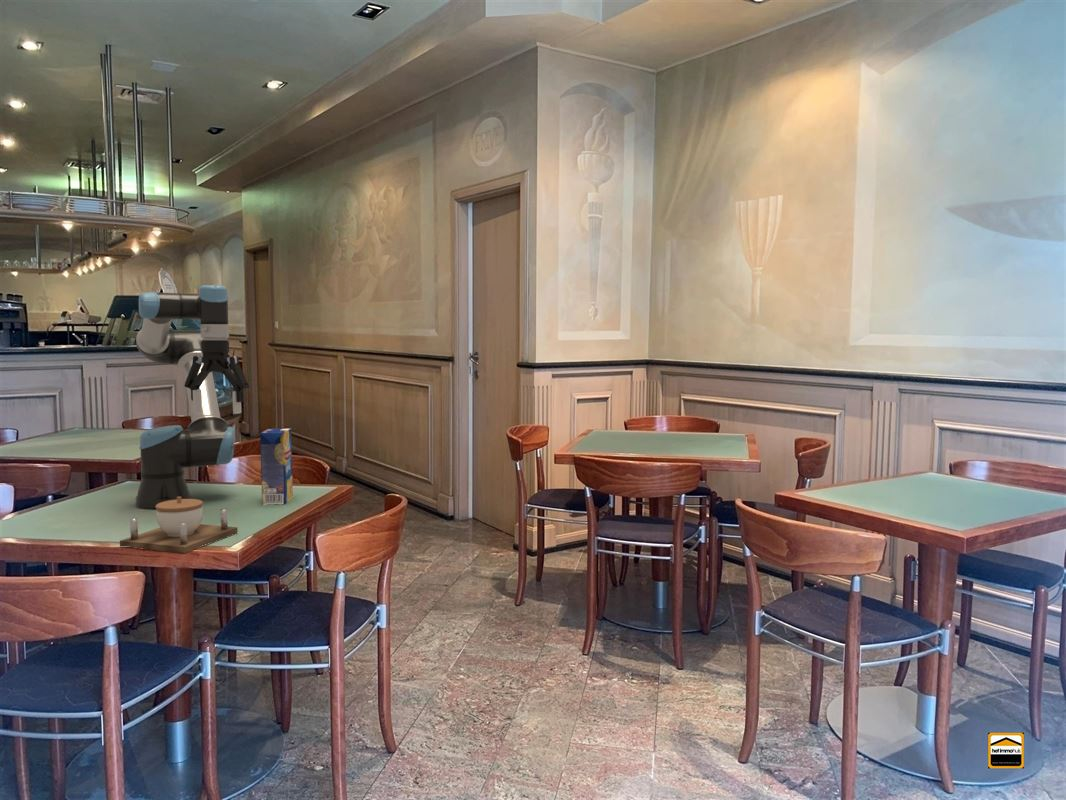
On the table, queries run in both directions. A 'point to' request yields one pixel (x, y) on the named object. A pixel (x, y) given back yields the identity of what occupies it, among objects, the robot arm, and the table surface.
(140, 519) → the table surface
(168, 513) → the lidded jar
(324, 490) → the table surface
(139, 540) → the peg board
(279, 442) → the beverage box
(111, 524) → the table surface
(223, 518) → the corner pegs
